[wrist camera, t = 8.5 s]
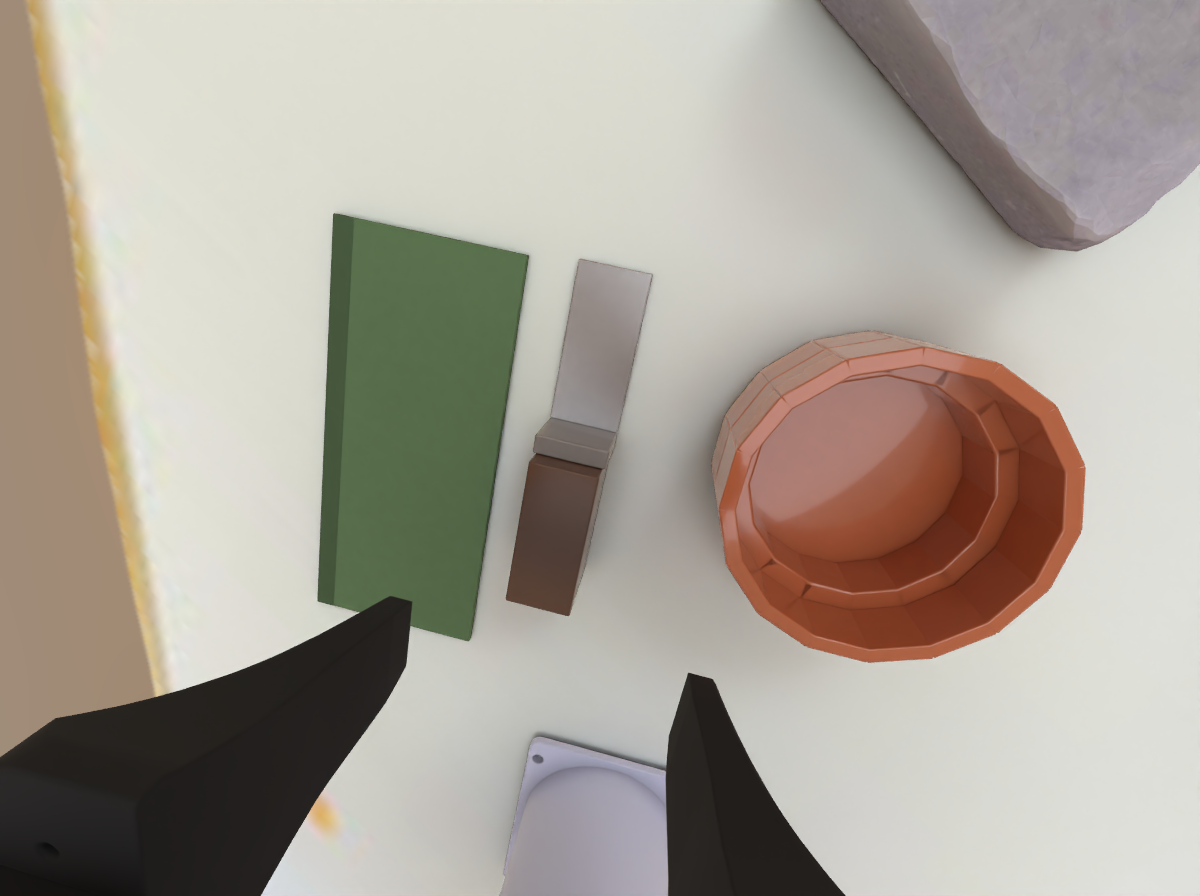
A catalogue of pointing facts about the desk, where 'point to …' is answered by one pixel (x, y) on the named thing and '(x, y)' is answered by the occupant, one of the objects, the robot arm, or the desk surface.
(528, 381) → the desk surface
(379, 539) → the green flat rectangular slab
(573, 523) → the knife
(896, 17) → the stone block
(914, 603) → the bowl
